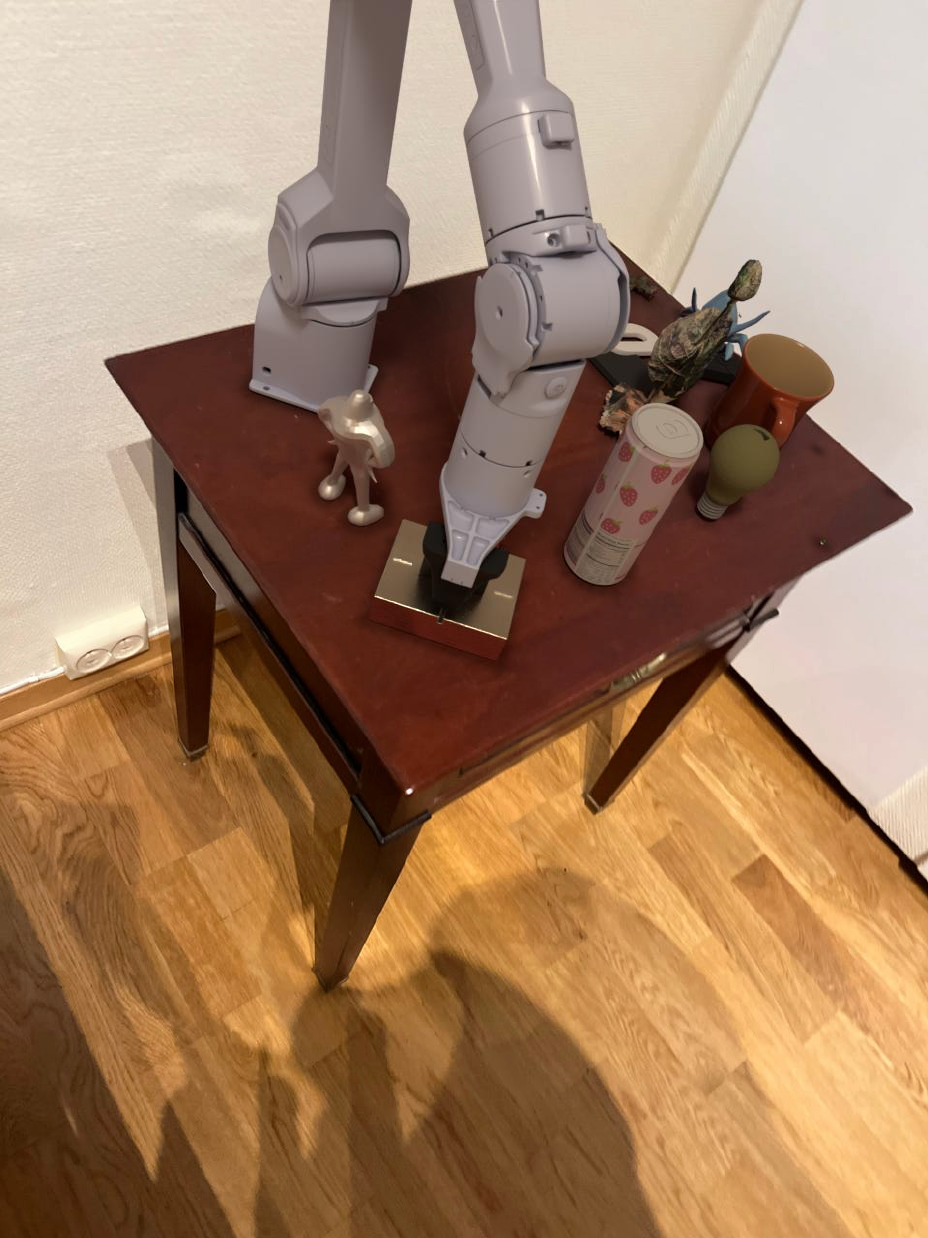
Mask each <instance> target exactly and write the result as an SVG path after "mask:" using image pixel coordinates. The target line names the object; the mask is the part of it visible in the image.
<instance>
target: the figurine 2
mask: <svg viewBox="0 0 928 1238" xmlns="http://www.w3.org/2000/svg"><path fill="white" fill-rule="evenodd" d="M728 289H729V288H727V289H724V290H722V291H720V292H719V293H717V294H716V295H715V296H714V297H712V298H711V299H709V300H708V301H707V302H705V304H704V305H702V307H701V309H699V308H698V304H697V301H698V299H697V298H698V297H697V295H698V294H697V288H696V287H693V289H692V293H691V301H690V302H691V303H690V304H691V305H689V306H687V307H685V308H684V309H682V310H681V311H680V312H679V314H683V315H690V314H693V313H695V312H696V311H699V310H704V309H707V308H712V307H716V308H718V309H721V310H724V309H725V308H726V307H727V303H728V301H729V300H730V297H728V294H727V291H728ZM771 312H772V311H771V310H766V311H764V312H762V313H760V314H759V315H758V316H756V317H754V318H752V319H750V320H748V321H746V322H743V323H738V321H739V316H738V315H739V312H738V307H737V302H736V303H735V304H734V306H733V307H732V309H731V312H730V314H729V315H730V316H731V317H732V319H733V320H734V321H733V323H732V326H731V330H730V332H729V334H728V337H727V339H726V341H725V342H724V344H723V345H722V347H721V348H720V350H719V351H718V353H717V354H716V356H714V358H713V359H712V361H711V362H710V363H709V365H708V366H707V367H706V369H705V371H704V374H703V376H702V377H701V378H706V379H710V380H715V381H720V382H724V383H727V384H729V385H730V384H731V382H732V381H733V379H734V377H735V375H736V373H737V370H738V367H739V364H740V360H741V358H739V357H738V356H733V354H734V352H735V345H734V344H738V346H739V350H740V353H741V355H742V351H743V347H744V345H745V343H746V341H747V340H748V339H749V337H748V335H747V334H745V333H741V332H742V331H744V330H747V329H748V328H750V327H753V326H754V325H756V324H757V323H758V322H760V321H761V320H762V319H763V318H764V317H766V316H767V315H768V314H770V313H771ZM680 318H683V317H681V316H680V317H677V319H676V320H678V319H680Z"/></svg>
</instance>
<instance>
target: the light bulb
mask: <svg viewBox="0 0 928 1238" xmlns="http://www.w3.org/2000/svg"><path fill="white" fill-rule="evenodd" d="M710 450H711V449H710ZM779 464H780V452H779V448H778V445H777V443H776V440H775V439H774V438H773V436H772V435H771V434H770V433H769V432H768V431H766V430H765V429H763V428H761V427H759V426H756V425H750V424H745V425H738V426H735V427H733V428H730V429H728V430H727V431H725V432H724V433H723V434H722V435H721V436H720V437H719V438H718V439H717V440H716V442H715V444H714V445H713V447H712V450H711V451H710V454H709V461H708V471H709V472H708V478H707V481H706V484H705V489H704V492H703V493H702V495H701V496H700V499H699V500H698V501H697V504H696V506H697V509H698V511H699V513H700V514H701V515H702V516H703V517H704V518H707V519H711V520H717V519H720V518H721V517H722V516H723V514H724V513H725V511H726V510H727V509H728V507H729V506H731V505H733V504H735V503H736V502H738V501H739V500H740V499H741V498H743V497H744V496H745V495H748V494H751V493H753V492H755V491H757V490H759V489H761V488H763V487H764V486H765V485H766V484H767V483H769V482H770V480H771V479H772V478H773V477H774V476H775V474H776V471H777V469H778V467H779Z"/></svg>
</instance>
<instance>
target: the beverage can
mask: <svg viewBox="0 0 928 1238" xmlns="http://www.w3.org/2000/svg"><path fill="white" fill-rule="evenodd" d="M703 445H704V437H703V431H702V430H701V427H700V425H698V423H697V421H696V420H695V419H694V418H693V417H692V416H691V415H689V414H688V413H687V412H686V411H684V410H682V409H680V408H678V407H676V406H674V405H672V404H670V405H667V404H662V403H650V404H646V405H644V406H642V407H640V408H638V409H637V410H636V411H635V412H634V414H633V416H631V417H630V418H629V420H628V421H627V423H626V425H625V427H624V429H623V431H622V433H621V435H620V434H619V437H618V438H617V441H616V442H615V445H614V447H613V449H612V450H611V452H610V455H609V456H608V459H607V460H606V463H605V464H604V466H603V469H602V471H601V473H600V475H599V476H598V478H597V480H596V482H595V484H594V487H593V488H592V490H591V492H590V493H589V496H588V497H587V500H586V502H585V504H584V506H583V508H582V509H581V512H580V514H579V516H578V517H577V520H576V521H575V523H574V525H573V527H572V530H571V531H570V532H569V535H568V538H567V539H566V541H565V543H564V547H563V555H564V559H565V561H566V563H567V565H568V567H569V568H570V569H571V570H572V572H573V573H574V574H575V575H576V576H577V577H579V578H580V579H582V580H583V581H586V582H587V583H590V584H594V585H599V586H611V585H615V584H619V582H621V581H623V579H625V578H626V576H627V575H628V573H629V572H630V570H631V568H632V567H633V565H634V563H635V562H636V560H637V558H638V557H639V555H640V553H641V552H642V550H643V549H644V547H645V546H646V544H647V542H648V540H649V539H650V537H651V536H652V534H653V533H654V530H655V529H656V528H657V526H658V524H659V522H660V521H661V519H662V518H663V516H664V514H665V513H666V511H667V509H668V508H669V506H670V505H671V503H672V501H673V500H674V498H675V496H676V495H677V493H678V492H679V490H680V488H681V486H682V485H683V483H684V482H685V480H686V478H687V477H688V475H689V474H690V472H691V471H692V469H693V467H694V465H695V464H696V463H697V460H698V459H699V456H700V454H701V450H702V448H703Z"/></svg>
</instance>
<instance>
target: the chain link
mask: <svg viewBox="0 0 928 1238" xmlns="http://www.w3.org/2000/svg"><path fill="white" fill-rule="evenodd" d="M622 338H637V339H640V340H642V341H624V342H622V341H623V340H620V342H619V343H618V345H617V346H616V347H615V348H614V349H613V350H611V352H614V353H616V354H619V355H634V354H637V355H638V356H639V357H643V356H644V357H647V356H648V357H649V356H650V357H651V353H652V351H653V347H654V344H655V342H656V341H657V339H658V338H659V336H657V335H656V333H654V332H652V331H651V330H650V329H648V328H647V327H645V326H642V325H639V324H636V323H630V322H628V324H627V327H626V330H625V333H624V335H623V337H622Z"/></svg>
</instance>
